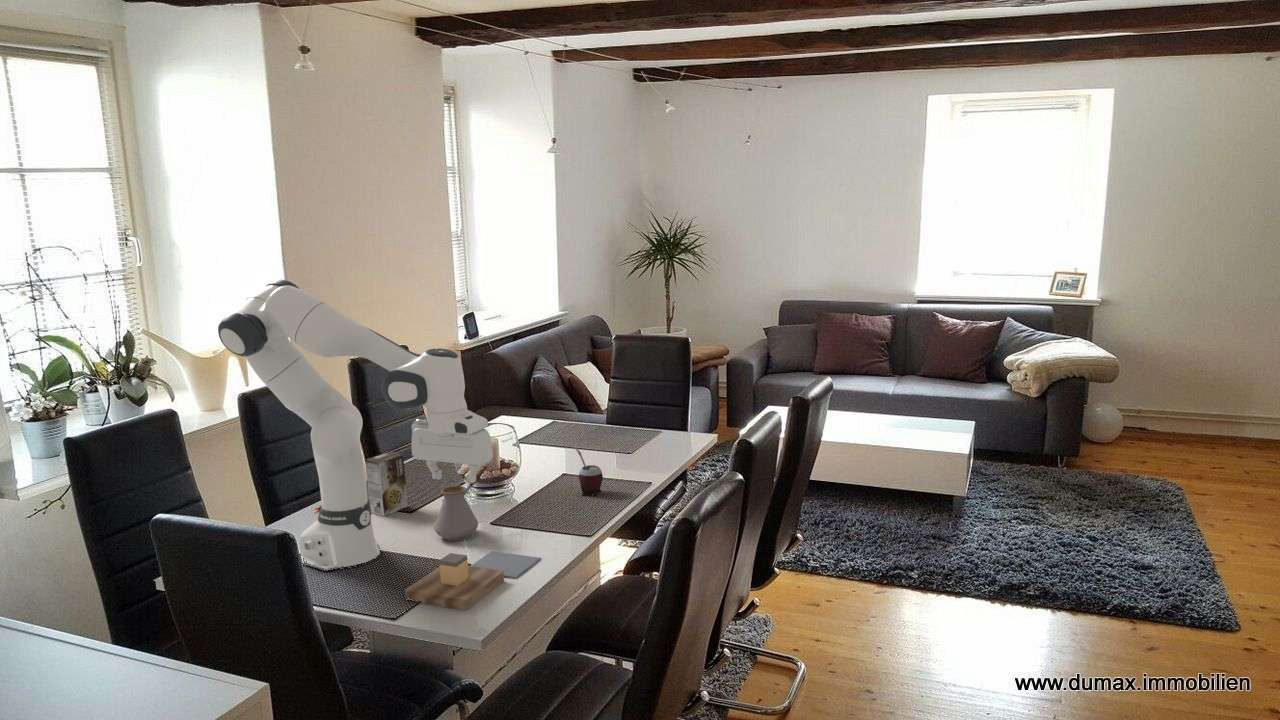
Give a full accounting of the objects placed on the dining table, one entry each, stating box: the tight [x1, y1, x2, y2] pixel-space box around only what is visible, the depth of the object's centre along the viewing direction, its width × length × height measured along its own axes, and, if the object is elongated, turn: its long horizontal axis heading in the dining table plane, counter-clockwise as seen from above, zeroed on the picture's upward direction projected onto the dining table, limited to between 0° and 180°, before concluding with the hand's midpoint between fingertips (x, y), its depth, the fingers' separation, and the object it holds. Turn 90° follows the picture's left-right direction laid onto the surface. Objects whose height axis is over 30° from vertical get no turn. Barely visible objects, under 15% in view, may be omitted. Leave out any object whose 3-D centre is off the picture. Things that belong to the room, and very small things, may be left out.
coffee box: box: [364, 451, 409, 517], centre depth 267 cm, size 9×6×16 cm
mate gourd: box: [570, 444, 604, 497], centre depth 274 cm, size 8×8×15 cm
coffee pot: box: [434, 465, 492, 542], centre depth 249 cm, size 21×12×15 cm, turn 153°
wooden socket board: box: [404, 565, 505, 612], centre depth 212 cm, size 16×16×2 cm
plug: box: [438, 552, 469, 586], centre depth 212 cm, size 4×4×8 cm
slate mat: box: [470, 550, 542, 580], centre depth 226 cm, size 14×12×1 cm
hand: (454, 480), depth 209 cm, fingers open, 8 cm apart
